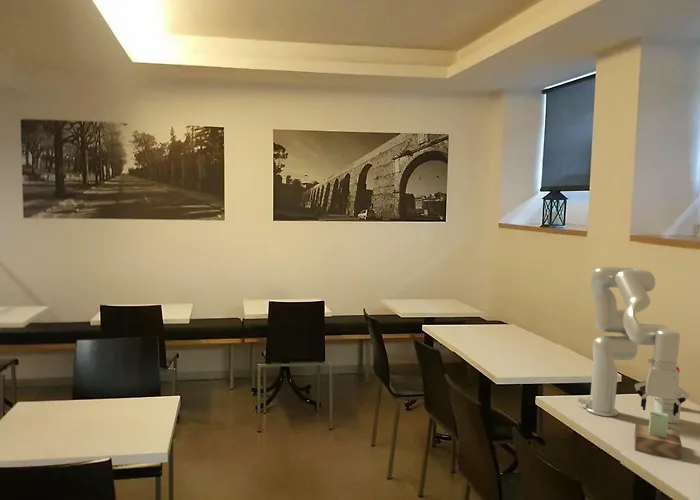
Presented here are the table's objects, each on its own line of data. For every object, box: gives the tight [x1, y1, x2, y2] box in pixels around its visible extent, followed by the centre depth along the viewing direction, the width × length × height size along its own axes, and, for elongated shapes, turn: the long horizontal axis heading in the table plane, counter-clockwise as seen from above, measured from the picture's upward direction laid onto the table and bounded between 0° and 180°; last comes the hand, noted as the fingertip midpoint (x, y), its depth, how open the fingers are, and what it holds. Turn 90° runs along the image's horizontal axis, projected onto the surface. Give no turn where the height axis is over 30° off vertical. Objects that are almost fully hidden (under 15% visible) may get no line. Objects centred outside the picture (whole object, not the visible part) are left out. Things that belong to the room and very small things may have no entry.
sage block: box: [648, 410, 669, 438], centre depth 216 cm, size 6×6×7 cm
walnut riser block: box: [633, 423, 683, 460], centre depth 216 cm, size 14×14×5 cm
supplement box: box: [652, 391, 683, 424], centre depth 247 cm, size 7×7×13 cm
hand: (658, 411), depth 216 cm, fingers open, 9 cm apart
